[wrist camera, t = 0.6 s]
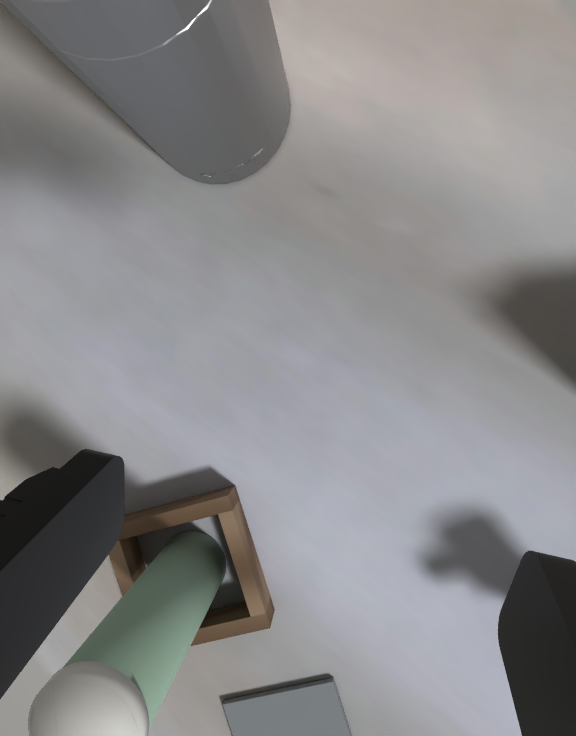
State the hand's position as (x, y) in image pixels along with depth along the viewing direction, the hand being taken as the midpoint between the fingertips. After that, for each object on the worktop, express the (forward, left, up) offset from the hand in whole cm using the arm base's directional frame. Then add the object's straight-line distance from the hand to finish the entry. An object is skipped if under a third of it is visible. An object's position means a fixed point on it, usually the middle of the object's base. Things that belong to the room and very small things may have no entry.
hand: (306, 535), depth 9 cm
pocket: (+9, -13, -22) cm, 26 cm away
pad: (+23, -10, -22) cm, 33 cm away
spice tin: (+9, -13, -22) cm, 26 cm away
